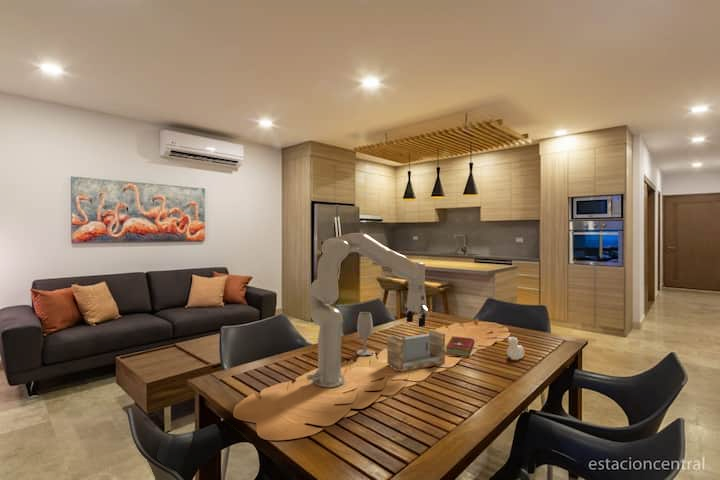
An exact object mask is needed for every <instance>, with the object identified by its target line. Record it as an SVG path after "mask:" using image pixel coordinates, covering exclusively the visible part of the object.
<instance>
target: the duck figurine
mask: <svg viewBox="0 0 720 480" xmlns="http://www.w3.org/2000/svg"><path fill="white" fill-rule="evenodd" d="M507 342H508V344H510V345H509V346H508V347H507V349H506V354H507V355H506V356H508V357H509V358H510V359H511V360H515V361H518V360H522V359H523V357H524V355H525V352H526V351H525V348H524V346H522V345H521V344H518V343H519V339H518V337H515V336H509V337H508V338H507Z"/></svg>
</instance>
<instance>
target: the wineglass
mask: <svg viewBox="0 0 720 480" xmlns="http://www.w3.org/2000/svg"><path fill="white" fill-rule="evenodd" d="M356 329H357V335H359V337H360V338H361V339H362V340H363V349H358V350H357V351H356V354H357V355H358V356H361V357H367V356H366V355H370V356H372V355H373V354H374V351H373V350H371V349H367V339H369V338H370V337H371V336H372V334H373V330H374V322H373V316H372V313H371V312H370V311H360V312H359V314H358V316H357V324H356ZM372 353H373V354H372ZM371 354H372V355H371Z"/></svg>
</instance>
